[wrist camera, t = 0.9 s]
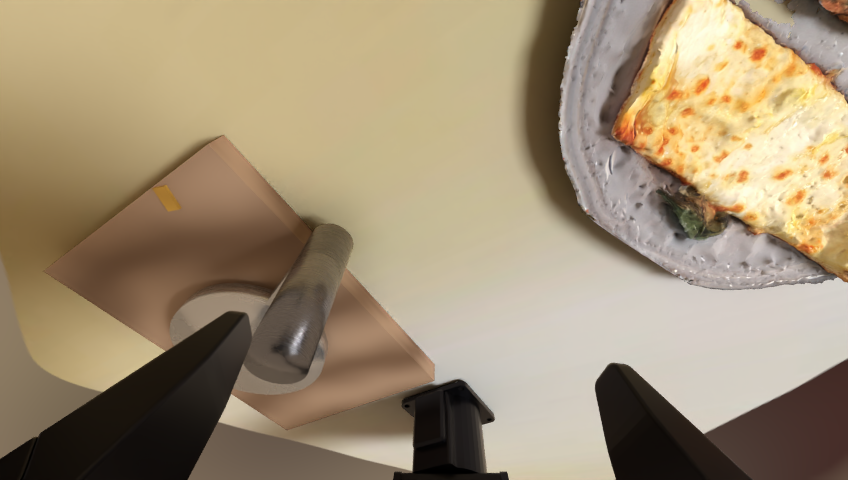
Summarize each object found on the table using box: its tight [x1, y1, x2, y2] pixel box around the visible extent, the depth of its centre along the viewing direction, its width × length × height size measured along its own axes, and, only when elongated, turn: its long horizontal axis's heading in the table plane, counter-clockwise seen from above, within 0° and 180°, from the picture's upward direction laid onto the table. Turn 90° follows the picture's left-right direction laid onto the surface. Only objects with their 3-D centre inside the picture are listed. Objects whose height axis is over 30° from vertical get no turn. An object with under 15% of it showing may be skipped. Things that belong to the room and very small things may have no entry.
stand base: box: [44, 135, 435, 430], centre depth 25 cm, size 22×16×2 cm
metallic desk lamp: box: [170, 224, 353, 395], centre depth 19 cm, size 17×10×8 cm, turn 141°
